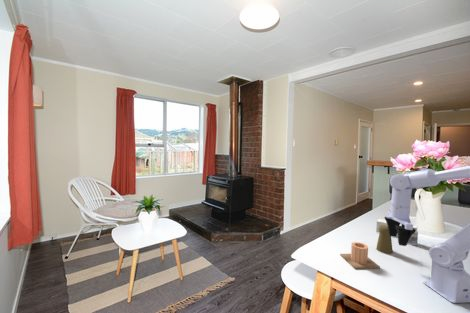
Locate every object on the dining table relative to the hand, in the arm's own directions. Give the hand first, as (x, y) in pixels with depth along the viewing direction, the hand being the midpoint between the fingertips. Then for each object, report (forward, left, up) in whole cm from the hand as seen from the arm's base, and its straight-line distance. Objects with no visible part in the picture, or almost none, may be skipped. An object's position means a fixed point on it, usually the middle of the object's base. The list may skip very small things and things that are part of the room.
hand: (397, 240), depth 82 cm
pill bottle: (+18, -23, -11) cm, 32 cm away
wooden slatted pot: (+4, +12, -10) cm, 16 cm away
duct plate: (+4, +12, -10) cm, 16 cm away
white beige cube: (+31, -20, -11) cm, 39 cm away
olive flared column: (+12, -5, -11) cm, 17 cm away
